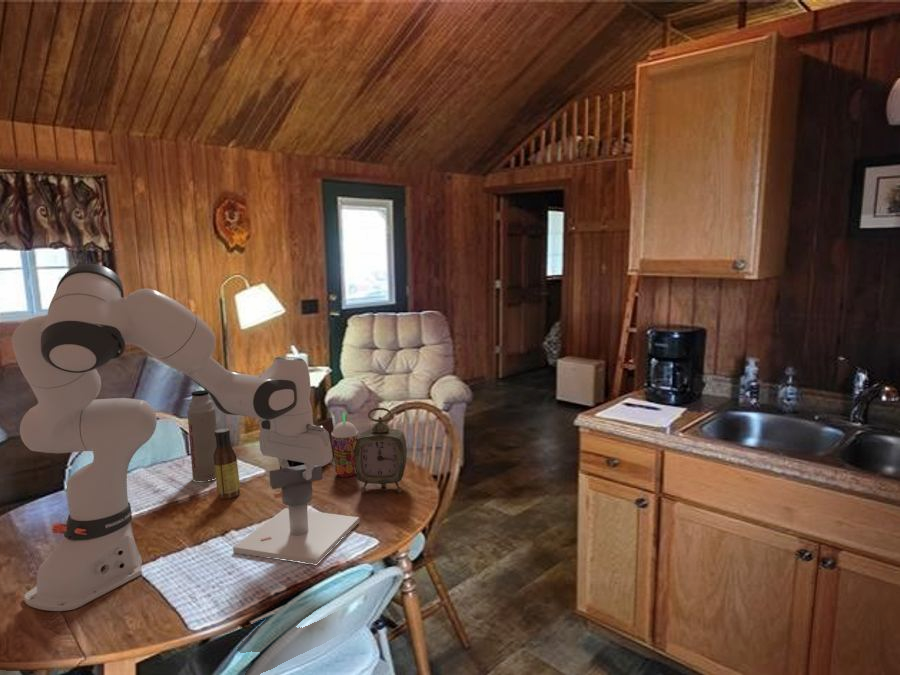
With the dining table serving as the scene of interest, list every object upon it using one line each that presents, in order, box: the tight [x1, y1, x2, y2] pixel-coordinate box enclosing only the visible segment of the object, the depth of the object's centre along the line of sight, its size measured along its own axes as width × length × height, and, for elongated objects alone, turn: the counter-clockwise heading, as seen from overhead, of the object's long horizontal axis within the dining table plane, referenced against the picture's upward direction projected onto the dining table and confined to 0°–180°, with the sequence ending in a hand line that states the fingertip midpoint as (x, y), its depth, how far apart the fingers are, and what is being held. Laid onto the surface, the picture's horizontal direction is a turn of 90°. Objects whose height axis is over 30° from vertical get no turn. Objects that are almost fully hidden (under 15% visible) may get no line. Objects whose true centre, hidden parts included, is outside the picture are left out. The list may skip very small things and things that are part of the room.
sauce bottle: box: [214, 427, 241, 500], centre depth 168 cm, size 7×6×20 cm
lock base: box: [232, 503, 360, 564], centre depth 143 cm, size 22×22×10 cm
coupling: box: [268, 465, 323, 507], centre depth 141 cm, size 12×7×8 cm, turn 119°
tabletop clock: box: [354, 407, 408, 493], centre depth 170 cm, size 14×9×25 cm, turn 88°
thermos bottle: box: [186, 389, 218, 482], centre depth 181 cm, size 8×8×28 cm
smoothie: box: [331, 412, 359, 478], centre depth 183 cm, size 8×8×20 cm
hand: (297, 476), depth 141 cm, fingers closed on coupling, 5 cm apart
